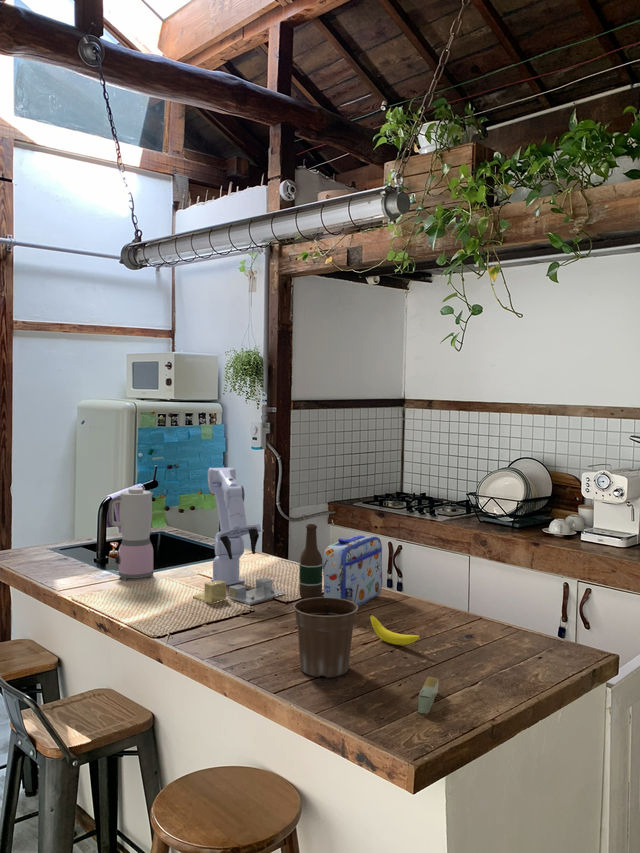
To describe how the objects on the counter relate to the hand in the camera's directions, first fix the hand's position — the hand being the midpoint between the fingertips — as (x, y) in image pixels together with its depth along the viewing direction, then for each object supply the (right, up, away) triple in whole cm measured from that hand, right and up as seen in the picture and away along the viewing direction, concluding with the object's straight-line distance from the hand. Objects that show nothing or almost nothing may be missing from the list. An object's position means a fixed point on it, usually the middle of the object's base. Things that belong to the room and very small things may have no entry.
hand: (242, 555), depth 242 cm
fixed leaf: (+5, -14, +5) cm, 16 cm away
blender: (-42, -13, +26) cm, 52 cm away
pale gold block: (-11, -15, +2) cm, 18 cm away
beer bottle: (+22, -15, +7) cm, 28 cm away
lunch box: (+36, -16, 0) cm, 39 cm away
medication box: (+50, -21, -74) cm, 91 cm away
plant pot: (+27, -19, -55) cm, 64 cm away
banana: (+46, -18, -37) cm, 61 cm away
